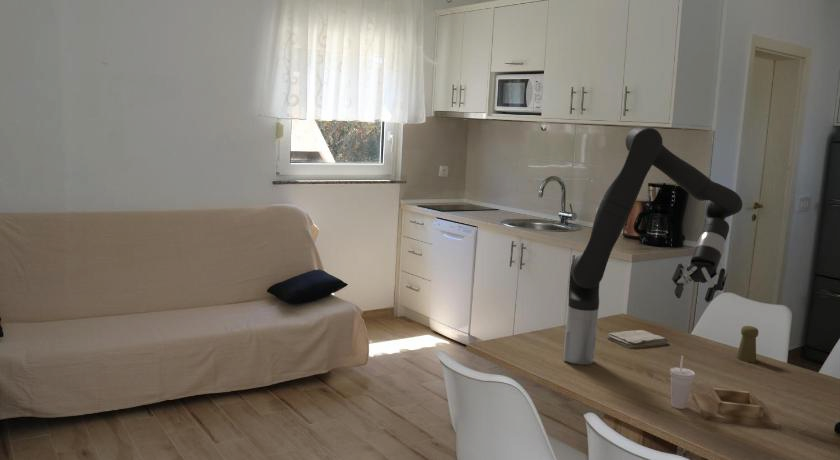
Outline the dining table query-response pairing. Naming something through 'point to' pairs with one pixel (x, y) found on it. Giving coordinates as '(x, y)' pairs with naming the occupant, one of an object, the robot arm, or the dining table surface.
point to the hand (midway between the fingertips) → (692, 298)
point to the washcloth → (636, 339)
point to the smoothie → (680, 385)
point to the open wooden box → (734, 408)
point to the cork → (748, 344)
